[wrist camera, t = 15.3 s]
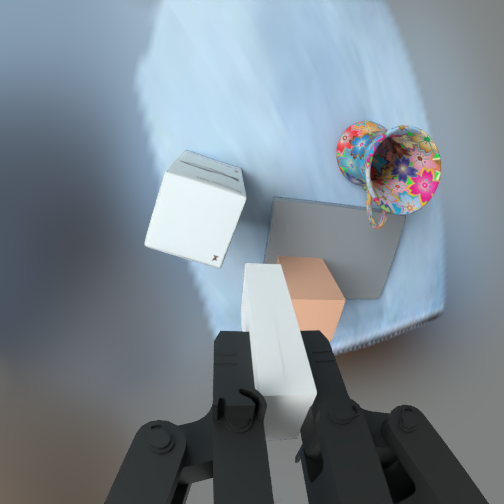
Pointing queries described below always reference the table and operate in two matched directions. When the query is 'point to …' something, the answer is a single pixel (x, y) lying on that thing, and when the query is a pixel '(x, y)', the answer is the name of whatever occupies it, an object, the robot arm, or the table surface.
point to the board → (336, 242)
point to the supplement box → (197, 209)
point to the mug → (390, 166)
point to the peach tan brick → (313, 294)
